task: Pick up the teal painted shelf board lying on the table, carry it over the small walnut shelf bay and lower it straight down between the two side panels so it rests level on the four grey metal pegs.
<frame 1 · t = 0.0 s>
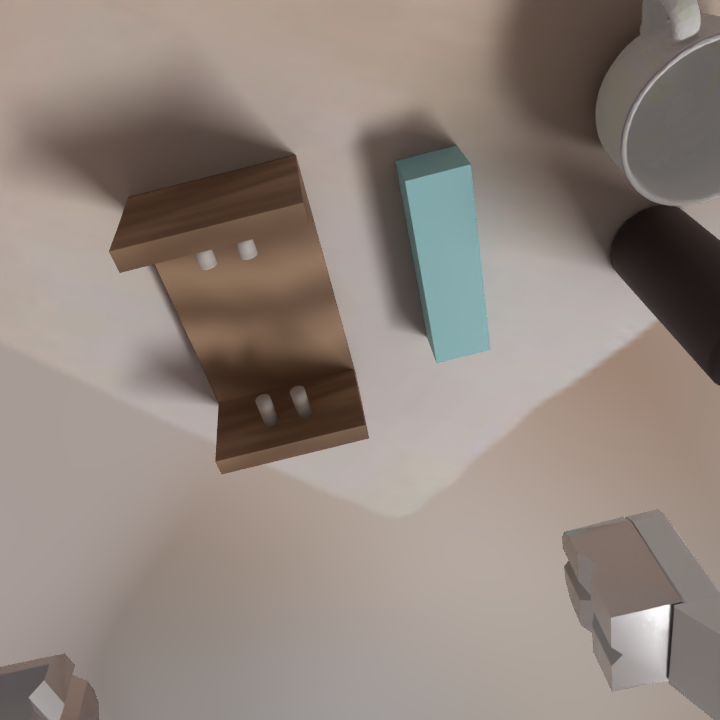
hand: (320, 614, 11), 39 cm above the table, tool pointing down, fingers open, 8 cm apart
shelf board: (439, 248, 52), on the table
bottle: (647, 241, 54), on the table
shelf bay: (255, 296, 52), on the table
teacup: (647, 66, 45), on the table
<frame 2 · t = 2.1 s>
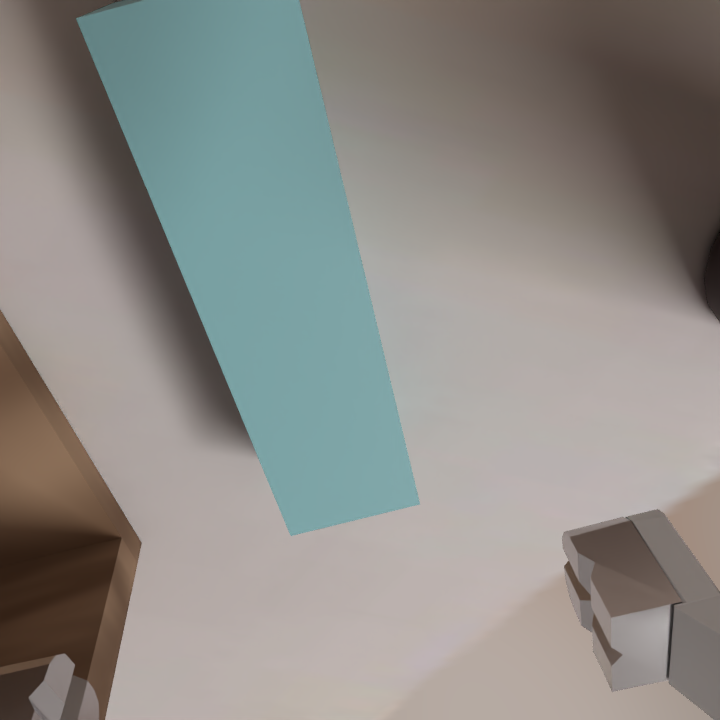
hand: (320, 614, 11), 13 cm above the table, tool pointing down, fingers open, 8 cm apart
shelf board: (287, 260, 21), on the table
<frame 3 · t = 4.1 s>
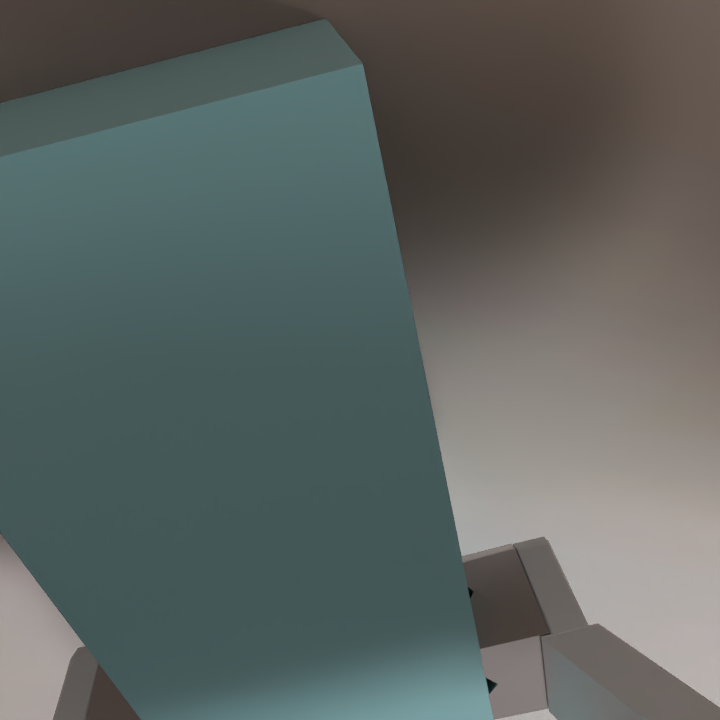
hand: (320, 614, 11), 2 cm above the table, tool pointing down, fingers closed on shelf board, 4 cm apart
shelf board: (312, 511, 12), on the table, touching gripper
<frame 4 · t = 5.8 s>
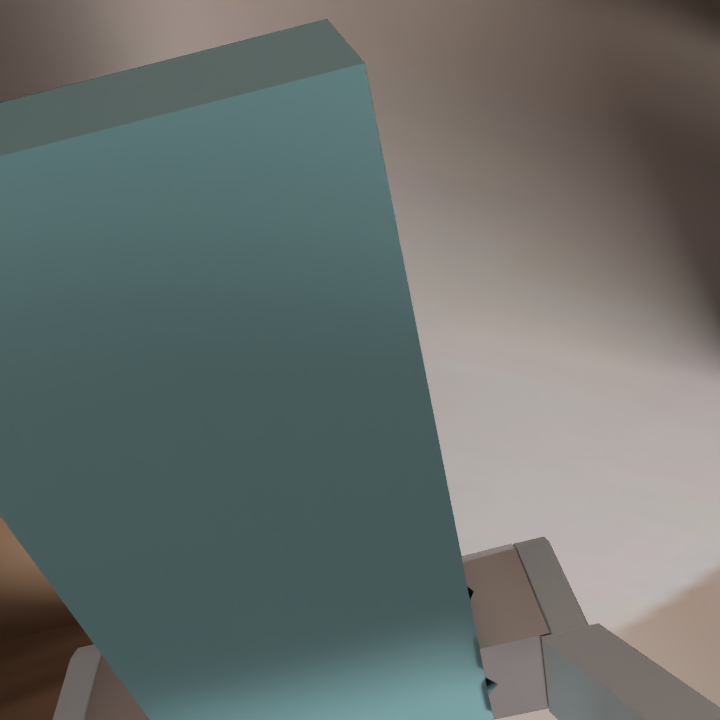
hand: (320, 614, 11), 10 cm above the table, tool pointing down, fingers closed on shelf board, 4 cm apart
shelf board: (312, 507, 12), point 8 cm above the table, touching gripper
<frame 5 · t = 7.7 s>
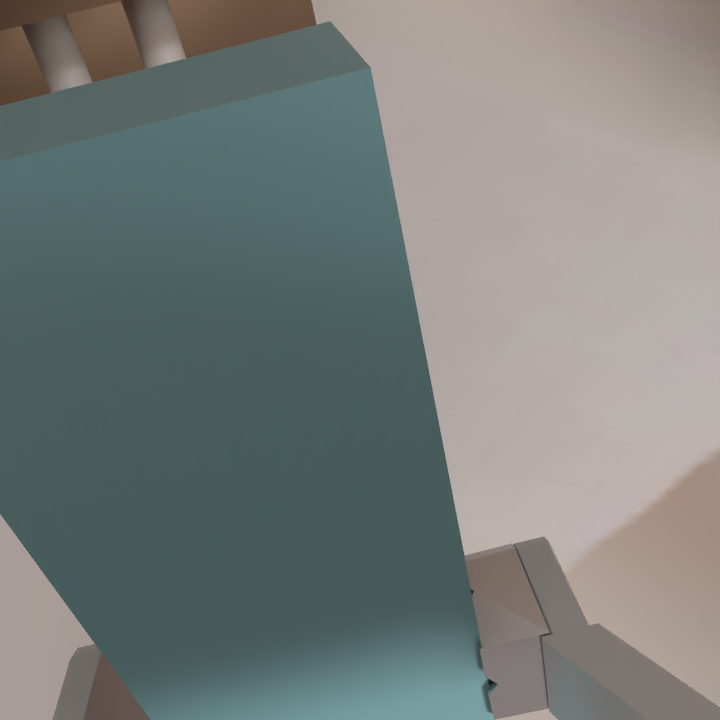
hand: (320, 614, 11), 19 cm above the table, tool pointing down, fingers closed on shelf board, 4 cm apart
shelf board: (314, 509, 12), point 17 cm above the table, touching gripper
shelf bay: (210, 235, 27), on the table
when the fingers open (9 cm above the table, at t = 10.6 s): shelf board stays where it is, resting on shelf bay.
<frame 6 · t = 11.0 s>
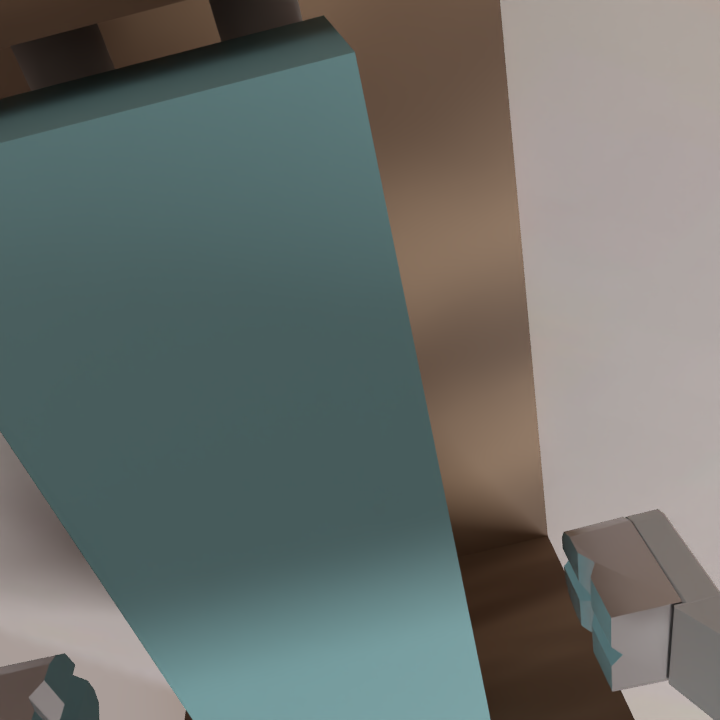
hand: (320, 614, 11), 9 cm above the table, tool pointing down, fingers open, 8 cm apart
shelf board: (311, 482, 13), point 6 cm above the table, touching shelf bay
shelf bay: (301, 345, 18), on the table
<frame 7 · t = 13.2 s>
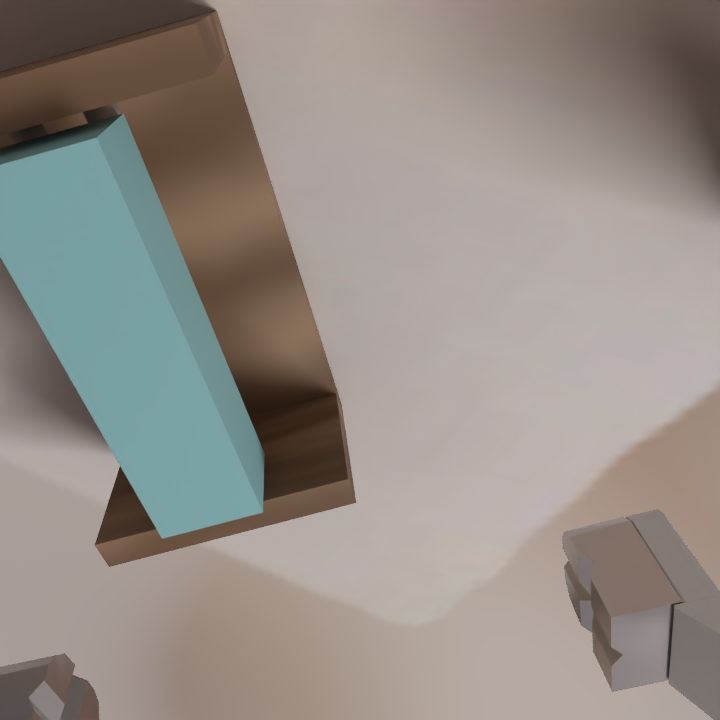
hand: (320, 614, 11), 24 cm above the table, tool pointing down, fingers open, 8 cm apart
shelf board: (153, 323, 27), point 6 cm above the table, touching shelf bay
shelf bay: (171, 272, 32), on the table
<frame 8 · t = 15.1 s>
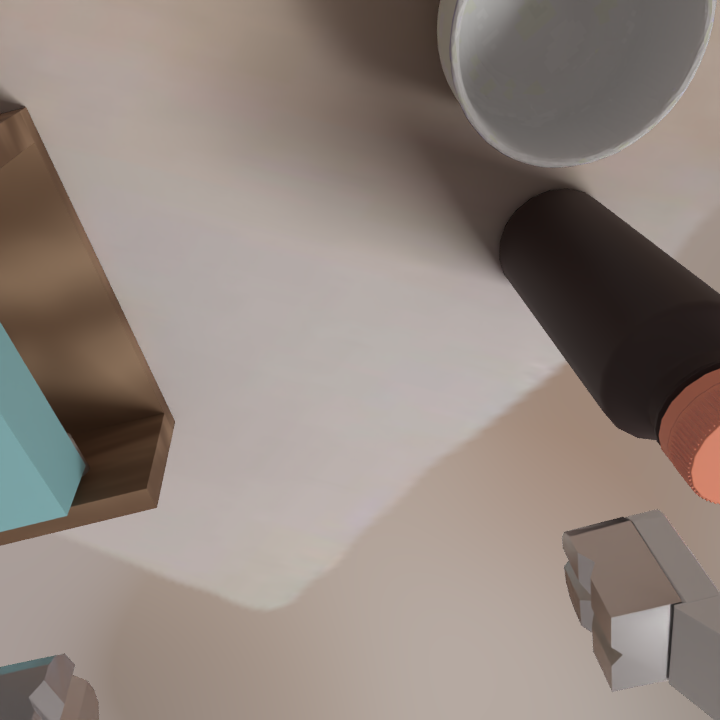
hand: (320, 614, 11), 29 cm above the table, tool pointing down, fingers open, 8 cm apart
bottle: (550, 240, 40), on the table
shelf bay: (12, 311, 38), on the table
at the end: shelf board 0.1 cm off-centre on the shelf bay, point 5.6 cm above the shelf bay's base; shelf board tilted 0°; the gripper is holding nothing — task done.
